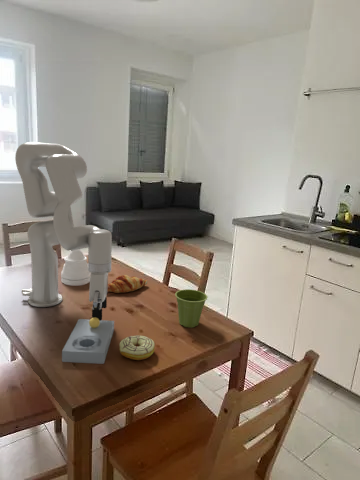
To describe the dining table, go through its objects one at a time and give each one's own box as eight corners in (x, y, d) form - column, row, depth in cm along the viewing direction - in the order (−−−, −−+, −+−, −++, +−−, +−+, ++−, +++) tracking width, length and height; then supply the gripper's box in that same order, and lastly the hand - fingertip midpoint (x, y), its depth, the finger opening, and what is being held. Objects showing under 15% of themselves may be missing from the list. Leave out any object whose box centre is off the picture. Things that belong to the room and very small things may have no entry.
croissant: (143, 291, 166) (139, 274, 167) (154, 286, 158) (150, 269, 160) (101, 298, 152) (98, 280, 154) (111, 293, 145) (107, 275, 146)
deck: (78, 328, 122) (78, 319, 121) (113, 330, 122) (114, 320, 121) (62, 361, 102) (61, 351, 101) (103, 363, 103) (104, 353, 102)
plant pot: (210, 328, 129) (213, 299, 126) (181, 333, 124) (184, 303, 121) (195, 314, 139) (197, 287, 136) (167, 318, 134) (169, 290, 131)
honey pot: (55, 282, 160) (54, 244, 156) (77, 275, 170) (78, 239, 166) (73, 290, 153) (74, 250, 149) (96, 282, 164) (97, 245, 159)
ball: (87, 328, 116) (88, 324, 113) (90, 318, 118) (90, 314, 115) (98, 330, 116) (98, 326, 113) (100, 320, 118) (101, 316, 115)
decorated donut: (123, 341, 114) (124, 330, 113) (155, 345, 114) (157, 335, 113) (115, 359, 104) (116, 347, 103) (151, 364, 104) (152, 352, 103)
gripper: (93, 258, 126) (93, 303, 130) (82, 274, 110) (83, 325, 113) (114, 259, 127) (113, 303, 131) (107, 275, 110) (106, 325, 114)
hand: (99, 313), depth 122 cm, fingers open, 9 cm apart
